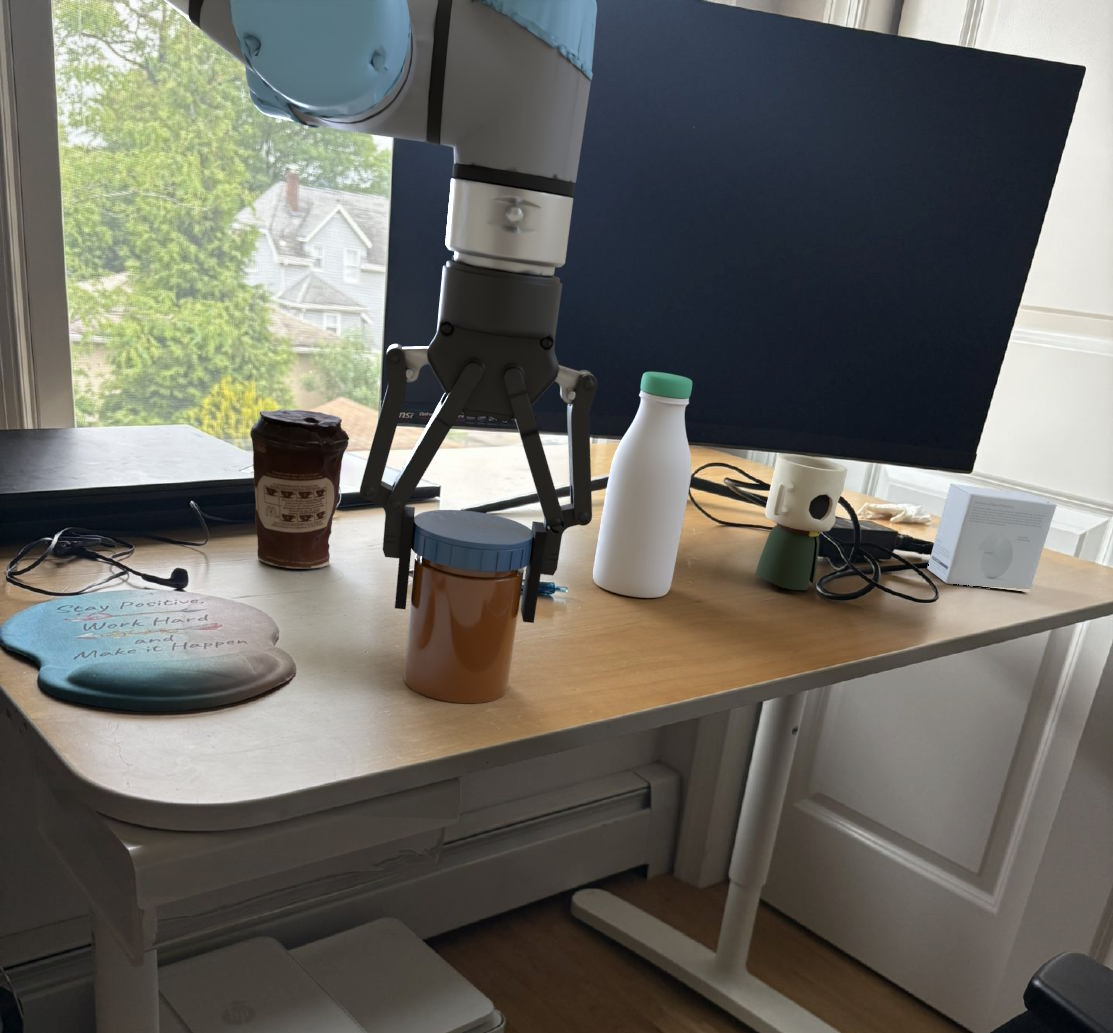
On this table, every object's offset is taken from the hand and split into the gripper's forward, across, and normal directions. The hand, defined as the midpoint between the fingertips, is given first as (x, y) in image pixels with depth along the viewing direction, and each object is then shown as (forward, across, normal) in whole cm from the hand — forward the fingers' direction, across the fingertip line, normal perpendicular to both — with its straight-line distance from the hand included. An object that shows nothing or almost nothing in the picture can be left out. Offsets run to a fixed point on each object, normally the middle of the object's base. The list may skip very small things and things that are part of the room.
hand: (464, 609), depth 80 cm
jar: (+6, 0, 0) cm, 6 cm away
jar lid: (-6, 0, 0) cm, 6 cm away
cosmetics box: (+6, +62, +47) cm, 78 cm away
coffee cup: (+6, -14, +25) cm, 29 cm away
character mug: (+6, +35, +35) cm, 50 cm away
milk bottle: (+6, +18, +29) cm, 34 cm away
